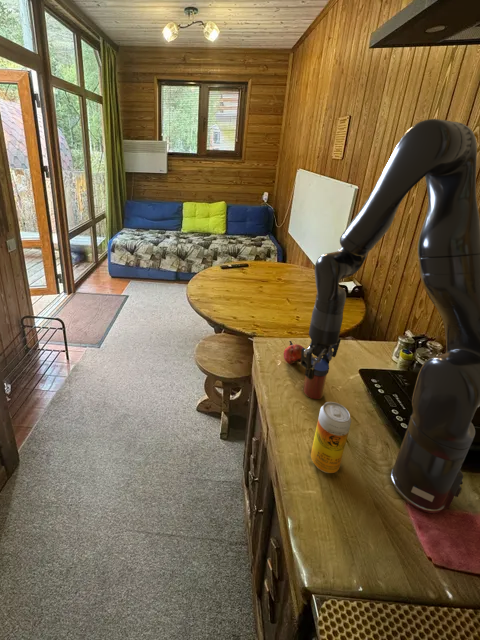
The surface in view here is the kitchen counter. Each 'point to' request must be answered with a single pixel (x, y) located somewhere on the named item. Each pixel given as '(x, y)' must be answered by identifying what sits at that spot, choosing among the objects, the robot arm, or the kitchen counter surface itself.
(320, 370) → the lid
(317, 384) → the jar
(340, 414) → the beer can
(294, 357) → the pomegranate
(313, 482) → the kitchen counter surface
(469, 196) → the robot arm
